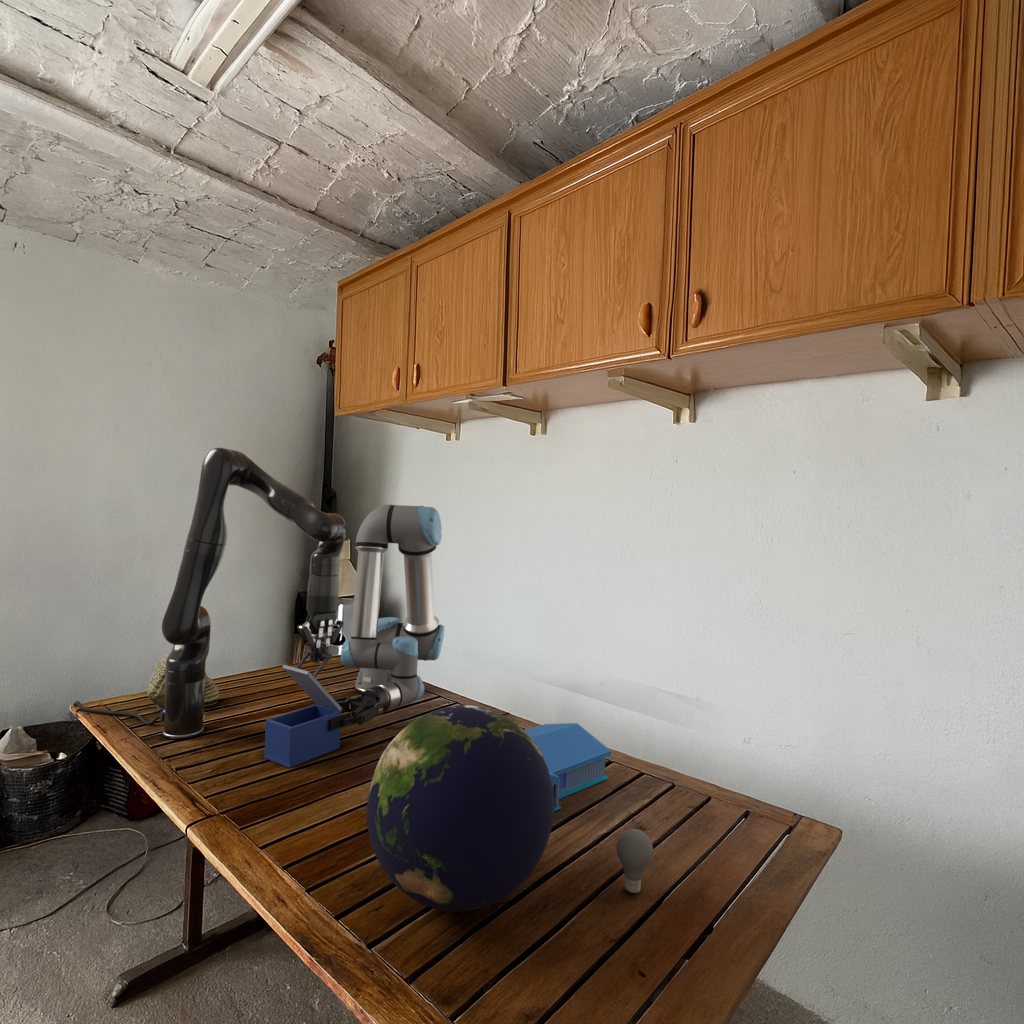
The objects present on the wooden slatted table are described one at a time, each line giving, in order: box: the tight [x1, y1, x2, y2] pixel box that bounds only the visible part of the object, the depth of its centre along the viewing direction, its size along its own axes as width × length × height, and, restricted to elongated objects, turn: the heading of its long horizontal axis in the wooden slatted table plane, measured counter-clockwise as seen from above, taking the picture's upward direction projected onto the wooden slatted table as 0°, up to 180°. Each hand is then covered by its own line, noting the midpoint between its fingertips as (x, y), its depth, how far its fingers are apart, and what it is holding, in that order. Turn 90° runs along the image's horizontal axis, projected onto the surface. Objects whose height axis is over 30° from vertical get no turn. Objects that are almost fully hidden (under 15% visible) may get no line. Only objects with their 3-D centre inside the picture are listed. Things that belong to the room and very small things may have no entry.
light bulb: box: [615, 828, 654, 894], centre depth 106 cm, size 6×6×10 cm
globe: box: [366, 704, 555, 913], centre depth 102 cm, size 30×30×30 cm
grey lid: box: [281, 648, 342, 712], centre depth 159 cm, size 16×9×8 cm
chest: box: [263, 703, 342, 769], centre depth 156 cm, size 15×9×9 cm, turn 147°
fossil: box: [147, 654, 221, 712], centre depth 185 cm, size 9×18×15 cm, turn 132°
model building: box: [523, 722, 612, 812], centre depth 142 cm, size 39×24×10 cm, turn 132°
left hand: (318, 661), depth 159 cm, fingers closed
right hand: (316, 720), depth 159 cm, fingers closed on chest, 9 cm apart
